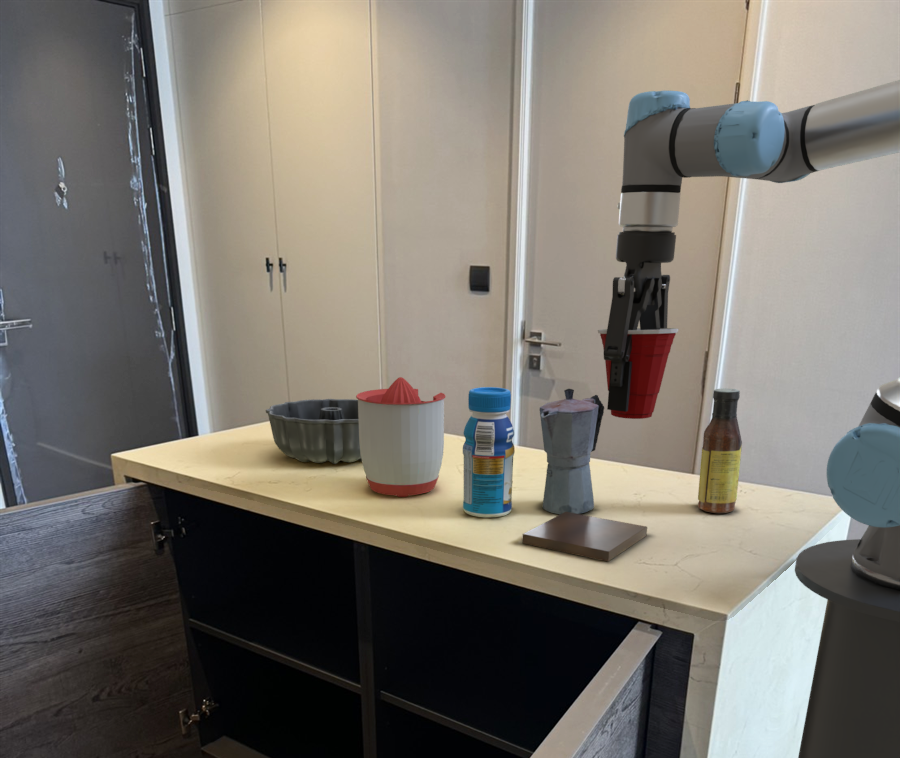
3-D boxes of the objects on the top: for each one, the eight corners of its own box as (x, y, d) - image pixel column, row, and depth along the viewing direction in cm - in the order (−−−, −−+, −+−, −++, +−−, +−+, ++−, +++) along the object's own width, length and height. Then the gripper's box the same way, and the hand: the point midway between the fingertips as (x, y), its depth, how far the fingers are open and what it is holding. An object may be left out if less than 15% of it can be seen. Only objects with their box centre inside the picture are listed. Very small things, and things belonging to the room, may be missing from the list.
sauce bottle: (742, 510, 145) (759, 390, 137) (718, 517, 142) (734, 394, 134) (711, 502, 150) (725, 385, 142) (687, 507, 147) (700, 389, 139)
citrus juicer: (469, 486, 159) (470, 375, 151) (402, 506, 147) (400, 387, 139) (409, 472, 168) (407, 367, 161) (341, 489, 157) (336, 377, 149)
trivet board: (646, 535, 133) (647, 526, 132) (608, 561, 122) (609, 551, 121) (565, 520, 140) (565, 511, 139) (522, 543, 129) (522, 533, 128)
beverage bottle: (451, 510, 145) (452, 389, 137) (490, 501, 150) (493, 384, 142) (483, 522, 139) (486, 396, 131) (522, 513, 143) (527, 391, 136)
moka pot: (517, 511, 144) (521, 390, 137) (571, 493, 155) (578, 379, 147) (564, 523, 138) (571, 396, 131) (617, 503, 149) (626, 385, 141)
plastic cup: (645, 406, 128) (653, 321, 123) (685, 420, 118) (695, 328, 114) (578, 410, 125) (584, 323, 120) (614, 424, 115) (622, 330, 110)
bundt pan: (363, 437, 198) (361, 393, 194) (419, 461, 177) (418, 412, 173) (252, 450, 185) (248, 403, 182) (298, 477, 165) (295, 425, 161)
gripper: (651, 230, 122) (637, 392, 131) (584, 228, 106) (572, 413, 115) (703, 230, 118) (684, 397, 127) (641, 229, 102) (624, 420, 111)
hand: (631, 405), depth 121 cm, fingers closed on plastic cup, 9 cm apart
